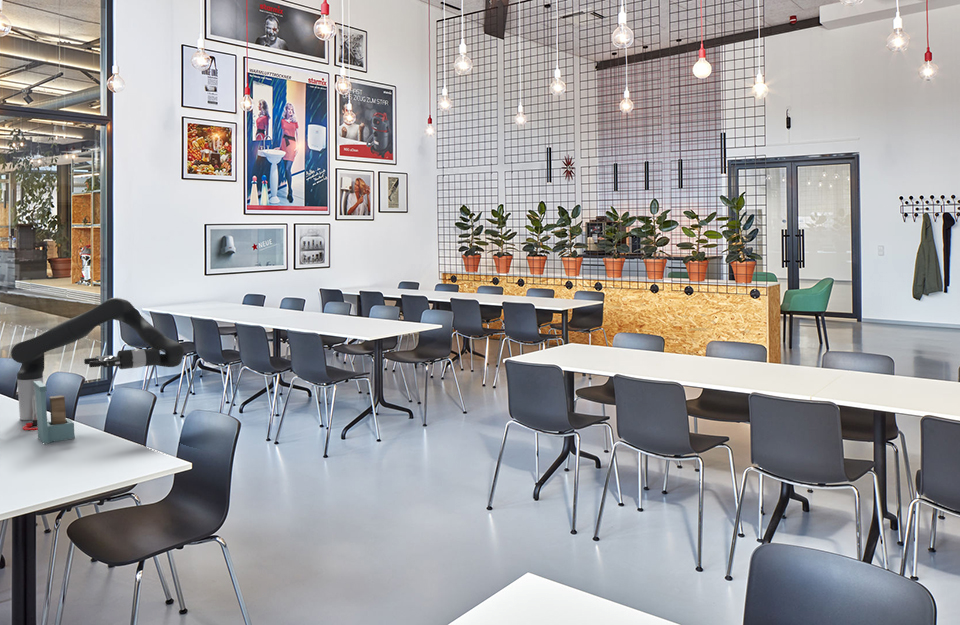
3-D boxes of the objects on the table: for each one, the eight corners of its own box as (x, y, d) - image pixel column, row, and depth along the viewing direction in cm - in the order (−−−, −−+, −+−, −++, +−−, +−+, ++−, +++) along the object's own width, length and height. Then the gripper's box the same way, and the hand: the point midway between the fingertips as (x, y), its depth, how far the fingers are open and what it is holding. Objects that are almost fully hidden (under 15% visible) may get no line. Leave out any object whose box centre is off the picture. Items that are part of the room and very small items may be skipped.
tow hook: (46, 430, 289) (47, 424, 297) (44, 398, 287) (45, 393, 295) (22, 432, 285) (23, 426, 293) (19, 401, 283) (21, 395, 291)
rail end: (52, 437, 276) (49, 396, 274) (65, 435, 278) (62, 395, 277) (53, 439, 273) (51, 398, 271) (66, 437, 276) (64, 396, 274)
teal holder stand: (36, 437, 277) (33, 381, 274) (68, 432, 284) (65, 377, 281) (43, 444, 266) (39, 386, 264) (76, 439, 273) (72, 383, 271)
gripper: (126, 347, 295) (82, 351, 285) (136, 351, 284) (90, 355, 274) (127, 365, 296) (83, 370, 286) (136, 370, 285) (91, 375, 275)
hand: (86, 363), depth 280 cm, fingers open, 8 cm apart
